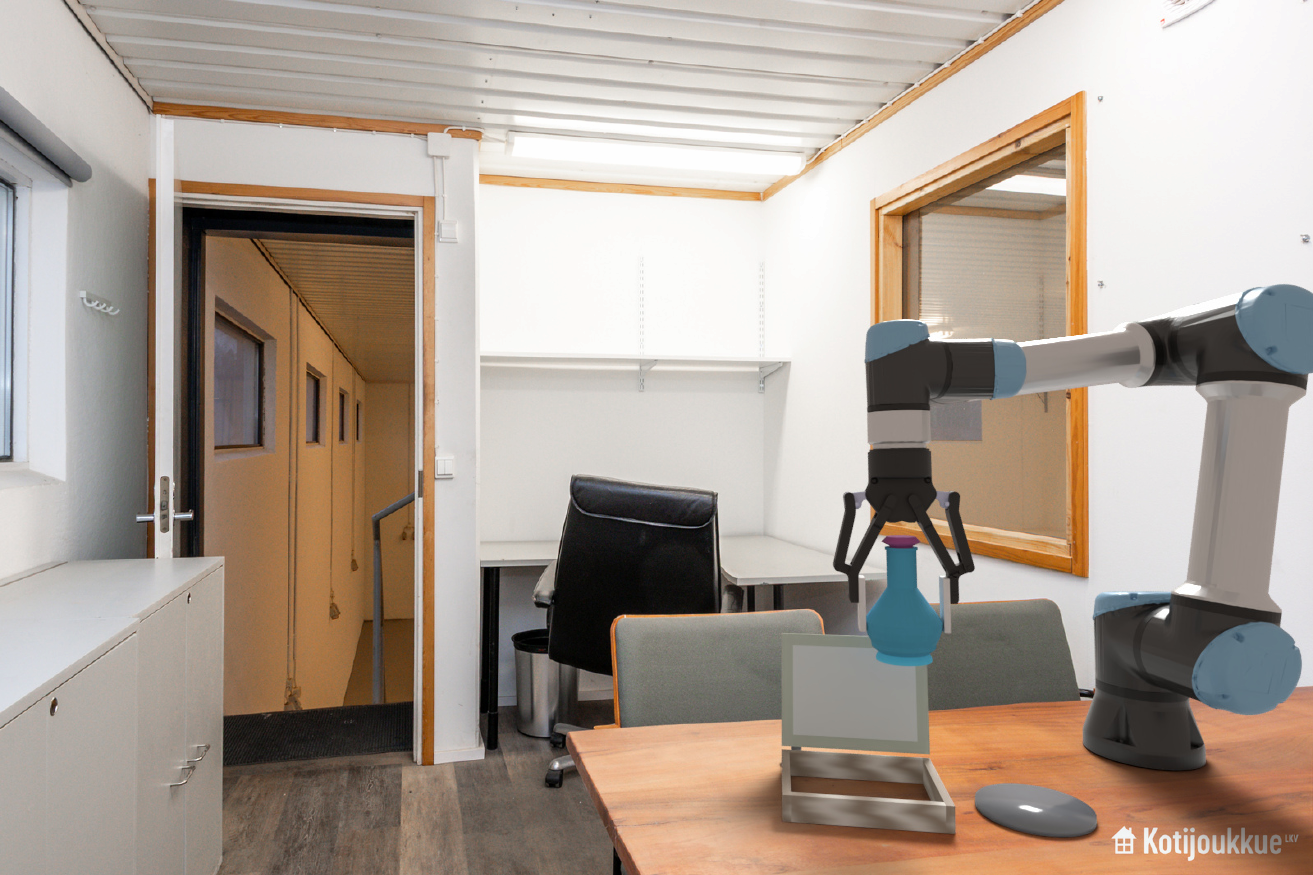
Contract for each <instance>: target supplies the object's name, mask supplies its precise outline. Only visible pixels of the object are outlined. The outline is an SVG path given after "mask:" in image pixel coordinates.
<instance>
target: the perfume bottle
mask: <svg viewBox="0 0 1313 875" xmlns="http://www.w3.org/2000/svg"><path fill="white" fill-rule="evenodd" d="M881 543H884V544H885V546H884V550H885V554H886V555H885V556H886V588H885V589H884V590H883V592H882V593H881V594H880V596H879V597H878V599H877V601H876V602H875V603H874V605H873V606H872V607H871V608H870V610H869V611H868V613H866V634H867V636H869V638H870V639H871V643H872V646H873V647H874V648H875V649H876V650H878V652H877V654H876V659H877V660H878V661H880V662H883V663H886V664H891V665H898V666H923V665H927V666H928V665H930V664H932V663H933V656H932V655H931V653H933V652H934V651H935V650H937V645H938V643H939V640H940V639H941V635H942V633H943V631H942V628H943V621H942V620H941V619H940V615H938V613H937V612H936V610H935V609H934V608H933V606H932V605H931V604H930V603H929V602H928V600H927V599H926V598H925V596H924V595H923V593H922V592H921V590H920V589H919V587H918V570H917V568H918V566H917V562H918V561H917V560H918V559H917V551H918V550H919V548H918V546H915V545H918V544H920V543H921V541H920V540H919V538H918V537H917V536H915V535H906V534H904V535H902V534H900V535H899V534H898V535H897V534H895V535H893V534H892V535H886V536H885V537H884V538H883V539H882V540H881Z"/></svg>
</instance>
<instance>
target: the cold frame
mask: <svg viewBox="0 0 1313 875" xmlns="http://www.w3.org/2000/svg"><path fill="white" fill-rule="evenodd" d="M791 776H794V777H808V778H809V777H810V778H811V777H812V778H826V779H840V780H841V779H842V780H854V781H855V780H856V781H857V780H858V781H869V782H871V781H873V782H887V783H902V784H919V785H923V787H924V789H925V791H926V793H927V795H928V797H929V799H930V800H916V799H904V798H903V799H901V798H889V797H888V798H887V797H877V796H876V797H874V796H873V797H872V796H871V797H870V796H859V795H844V794H843V795H841V794H827V793H826V794H825V793H814V792H813V793H812V792H799V791H792V782H791V780H792V779H791V778H792V777H791ZM781 807H782V808H781V810H782V811H781V812H782V813H781V815H782V822H786V823H787V822H788V823H798V824H800V823H801V824H802V823H803V824H816V825H828V826H839V827H840V826H841V827H856V828H869V829H881V830H882V829H884V830H894V831H895V830H896V831H897V830H898V831H908V832H909V831H910V832H925V833H938V834H939V833H940V834H952V835H956V834H957V833H956V828H957V827H956V826H957V825H956V819H957V818H956V804H955V803H954V801H953V799H952V798H951V796H950V794H949V792H948V790H947V788H946V787H945V784H944V783H943V781H942V778H941V777H940V775H939V774H938V771H937V769H936V767H935V765H934V764H933V762H932V759H931V758H930V757H923V756H922V757H920V756H902V755H900V756H899V755H885V754H867V753H852V752H851V753H850V752H835V751H817V750H816V751H815V750H804V749H803V750H802V749H801V750H791V749H785V748H784V749H782V748H781Z"/></svg>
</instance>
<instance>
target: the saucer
mask: <svg viewBox="0 0 1313 875" xmlns="http://www.w3.org/2000/svg"><path fill="white" fill-rule="evenodd" d="M974 805H975V808H976V809H977V811H978V813H980V814H982V816H984V817H986V818H987V819H989V820H990V821H992V822H994V823H996V824H998V825H1000V826H1002V827H1005V828H1008V829H1011V830H1015V831H1018V832H1020V833H1024V834H1025V833H1026V834H1030V835H1036V836H1042V837H1050V838H1074V837H1075V838H1076V837H1081V836H1086V835H1088V834H1090V833H1092V832H1093V831H1095V829H1097V826H1098V821H1097V820H1098V819H1097V817H1098V816H1097V813H1096V811H1095V809H1093V807H1092V806H1090V805H1089V804H1087V803H1086V802H1085V801H1083V800H1081V799H1079V798H1077V797H1076V796H1073V795H1071V794H1068V793H1065V792H1062V791H1059V790H1056V789H1052V788H1049V787H1044V786H1038V785H1033V784H1025V783H1017V782H1016V783H1012V782H1011V783H1009V782H1007V783H1006V782H1004V783H1002V782H1001V783H994V784H989V785H986V786H983V787H981V788H979V789H978V790H977V791H976V792H975V795H974Z"/></svg>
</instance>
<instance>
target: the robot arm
mask: <svg viewBox="0 0 1313 875" xmlns="http://www.w3.org/2000/svg"><path fill="white" fill-rule="evenodd" d="M867 329H868V330H867V331H866V336H865V346H864V347H865V350H864V361H863V362H864V364H865V365H864V366H865V384H866V386H865V387H866V404H867V406H866V413H867V414H866V417H867V418H866V420H867V421H866V422H867V423H866V424H867V430H866V431H867V444H868V445H871V446H872V449H869V451H868V452H867V466H868V467H867V472H868V473H867V474H868V475H867V476H868V482H867V486H866V488H865V490H864V491H863V490H862V491H856V492H850V491H845V492H844V493H843V494H842V500H843V506H844V512H843V517H842V521H841V525H840V530H839V534H838V539H837V544H836V548H835V552H834V557H833V561H832V567H833V569H834V571H835V572H839V573H842V574H844V575H846V576H847V592H848V593H847V594H848V595H847V596H848V600H849V602H850V604H857V628H858V631H859V632H861V633H862V632H864V633H867V631H866V616H867V605H866V604H867V603H866V602H867V601H866V600H867V598H866V591H867V590H866V577H865V575H863V574H860V573H861V570H862V569H863V566H864V565H865V563H866V561H867V559H868V557H869V555H870V553H871V551H872V549H873V547H874V545H875V543H876V541H877V540H878V537H879V535H880V533H881V532H882V530H883V528H884V527H885V524H886V523H889V524H893V523H894V524H896V523H899V522H903V523H904V522H905V523H908V524H910V523H911V524H913V523H916V524H917V525H918V527H919V528H920V529H921V531H922V533H923V535H924V537H925V538H926V540H927V543H928V544H929V546H930V548H931V549H932V551H933V553H934V555H935V556H936V558H937V560H938V562H939V564H940V565H941V567H942V569H943V572H945V575H938V590H939V591H938V593H939V594H938V596H939V617H940V619H941V620H942V621H943V628H942V633H944V634H952V614H951V613H952V611H951V605H958V604H959V601H960V578H961V576H963V575H965V574H968V573H970V574H971V573H973V572H974V571H975V569H976V566H975V562H974V559H973V556H972V552H971V548H970V545H969V542H968V538H967V534H966V531H965V527H964V524H963V520H962V517H961V513H960V503H961V494H960V492H958V491H954V490H948V491H945V490H944V491H942V490H937V489H936V488H935V486H934V483H933V470H932V467H933V466H932V450H930V448H928V447H927V445H928V444H930V443H931V442H932V436H931V435H932V434H931V428H932V427H931V407H939V406H946V405H953V404H961V403H966V402H967V403H968V402H975V401H984V400H988V401H989V400H990V401H994V400H997V399H998V400H999V399H1011V398H1013V397H1014V396H1015V397H1016V396H1023V395H1030V394H1031V395H1032V394H1040V393H1048V392H1055V391H1062V390H1063V391H1065V390H1071V389H1079V388H1087V387H1095V386H1104V385H1112V384H1119V385H1121V386H1122V387H1125V388H1128V389H1133V388H1134V389H1136V388H1142V387H1152V386H1153V387H1154V386H1155V387H1159V386H1160V387H1167V386H1168V387H1169V386H1171V387H1172V386H1173V387H1174V386H1178V387H1179V386H1181V387H1182V386H1183V387H1184V386H1186V387H1187V386H1188V387H1189V386H1192V387H1193V386H1195V391H1196V392H1197V393H1198V394H1199V395H1200V396H1201V397H1202V398H1203V399H1204V400H1205V401H1206V413H1205V421H1204V428H1203V429H1204V431H1203V437H1202V438H1203V439H1202V448H1201V454H1200V455H1201V457H1200V464H1199V471H1198V480H1197V487H1196V488H1197V490H1196V498H1195V504H1194V512H1193V513H1194V514H1193V524H1192V532H1191V539H1190V541H1191V542H1190V548H1189V549H1190V550H1189V557H1188V567H1187V572H1186V573H1187V574H1186V580H1185V581H1184V582H1183V583H1182V584H1180V585H1178V586H1177V587H1175V588H1174V589H1172V590H1171V591H1159V590H1158V591H1151V590H1150V591H1149V590H1148V591H1147V590H1144V591H1143V590H1142V591H1140V590H1139V591H1137V590H1135V591H1133V590H1132V591H1128V590H1127V591H1126V590H1125V591H1124V590H1122V591H1121V590H1119V591H1104V592H1103V591H1102V592H1100V593H1099V594H1097V595H1096V597H1095V598H1094V607H1093V615H1092V620H1093V638H1094V639H1093V640H1094V646H1093V647H1094V676H1095V677H1094V678H1095V679H1094V680H1095V684H1094V695H1093V698H1092V700H1091V703H1090V706H1089V708H1088V712H1087V714H1086V716H1085V720H1084V723H1083V724H1082V744H1083V746H1084V747H1085V748H1087V749H1088V750H1089V751H1091V752H1092V753H1094V754H1096V755H1099V756H1100V757H1102V758H1103V757H1104V758H1106V759H1109V760H1111V761H1115V762H1119V763H1122V764H1126V765H1130V766H1135V767H1141V768H1145V769H1153V770H1155V769H1156V770H1161V771H1162V770H1163V771H1165V770H1166V771H1189V770H1190V771H1191V770H1196V769H1199V768H1202V767H1204V766H1205V765H1206V763H1207V762H1206V761H1207V757H1206V756H1207V754H1206V745H1205V741H1204V739H1203V736H1202V733H1201V730H1200V728H1199V726H1198V723H1197V720H1196V718H1195V715H1194V711H1193V710H1192V707H1191V702H1190V699H1191V700H1192V699H1193V700H1196V701H1198V702H1200V703H1202V704H1203V705H1206V706H1207V707H1209V708H1210V709H1211V708H1212V709H1214V710H1220V711H1226V712H1229V713H1233V714H1235V715H1242V716H1259V715H1262V714H1263V715H1264V714H1266V713H1268V712H1271V711H1273V710H1275V709H1276V708H1277V706H1278V705H1279V704H1283V703H1285V702H1286V701H1287V700H1288V699H1289V698H1290V697H1291V695H1292V694H1293V693H1294V691H1295V689H1296V688H1297V686H1298V683H1299V680H1300V679H1301V674H1302V669H1303V661H1302V660H1303V658H1302V653H1301V650H1300V648H1299V647H1298V646H1296V640H1295V639H1294V638H1293V637H1292V635H1291V634H1290V633H1288V631H1285V629H1283V628H1282V627H1281V624H1282V614H1283V611H1282V608H1281V607H1280V606H1279V605H1277V603H1276V602H1275V601H1274V600H1273V599H1272V597H1271V595H1270V594H1269V590H1270V583H1271V575H1272V574H1271V573H1272V565H1273V557H1274V556H1273V555H1274V545H1275V536H1276V527H1277V519H1278V511H1279V509H1278V508H1279V503H1280V502H1279V500H1280V491H1281V486H1282V485H1281V484H1282V483H1281V482H1282V475H1283V464H1284V456H1285V449H1286V448H1285V447H1286V440H1287V431H1288V430H1287V428H1288V421H1289V413H1290V408H1291V406H1292V405H1293V404H1295V403H1297V402H1298V401H1299V400H1301V399H1302V398H1304V397H1305V396H1306V395H1307V390H1308V389H1307V388H1308V381H1309V374H1313V292H1312V291H1310V290H1308V289H1306V288H1304V287H1302V286H1298V285H1294V284H1290V283H1289V284H1288V283H1279V284H1272V285H1267V286H1256V287H1251V288H1249V289H1246V290H1244V291H1243V292H1238V293H1234V294H1231V295H1227V296H1223V297H1219V298H1217V299H1216V298H1215V299H1211V300H1209V301H1203V302H1201V303H1200V302H1199V303H1195V304H1192V305H1188V306H1185V307H1183V308H1180V309H1177V310H1174V311H1170V312H1167V313H1164V314H1162V315H1157V316H1154V317H1151V318H1147V319H1143V320H1139V321H1138V320H1137V321H1132V322H1131V321H1130V322H1124V323H1121V324H1119V325H1118V326H1117V327H1115V328H1114V329H1113V331H1107V332H1106V331H1104V332H1098V333H1097V332H1096V333H1091V334H1082V335H1080V334H1079V335H1074V336H1065V337H1057V338H1049V339H1040V340H1039V339H1038V340H1031V341H1025V342H1022V341H1021V342H1015V341H1014V340H1011V339H999V338H997V339H995V338H994V337H989V338H967V339H966V338H965V339H964V338H962V339H961V338H960V339H959V338H957V339H956V338H955V339H953V338H951V339H947V338H946V339H941V338H935V337H931V335H930V332H929V328H928V325H927V323H926V322H924V321H922V320H915V319H895V320H894V319H893V320H886V321H881V322H878V323H875V324H873V325H872V326H870V327H869V328H867ZM865 500H866V501H867V502H868V504H869V505H870V506H871V508H872V509H873V510H874V511H875V512H874V514H873V516H872V517H871V518H872V519H871V520H870V523H869V525H868V528H866V531H865V534H864V535H863V537H862V539H861V541H860V543H859V544H858V547H857V549H856V551H855V553H854V555H853V557H852V559H851V561H850V563H848V562H846V559H847V556H848V551H849V546H850V543H851V538H852V534H853V529H854V525H855V521H856V515H857V510H859V509H861V508H862V505H863V504H862V503H863V502H864V501H865ZM936 500H937V501H938V503H939V506H940V507H941V508H942V509H944V512H945V517H946V521H947V524H948V527H949V531H950V535H951V538H952V543H953V546H954V549H955V554H956V558H957V560H958V562H957V563H955V562H954V560H953V558H952V556H951V555H950V552H949V551H948V549H947V548H946V545H945V544H944V542H943V540H942V539H941V536H940V534H939V533H938V532H937V530H936V527H935V526H934V524H933V521H932V519H931V518H930V516H929V514H928V510H929V508H930V507H931V506H932V505H933V503H934V502H935V501H936Z"/></svg>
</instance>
